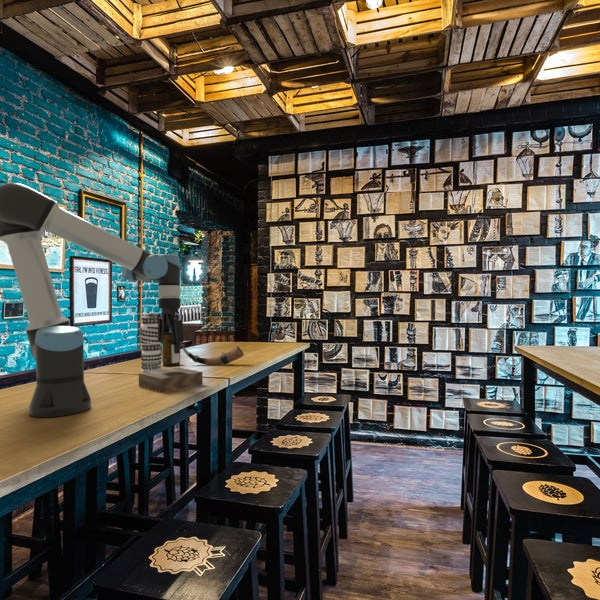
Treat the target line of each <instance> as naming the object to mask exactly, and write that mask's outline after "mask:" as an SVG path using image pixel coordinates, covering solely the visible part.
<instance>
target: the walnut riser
mask: <svg viewBox="0 0 600 600" xmlns="http://www.w3.org/2000/svg"><path fill="white" fill-rule="evenodd" d="M203 378H204V377H203V371H199V370H192V369H187V368H182V367H171V368H165V369H162V370H158V371H152V372H140V373H138V387H140V386H142V387H141V388H144V387H145V389H147V388H149V389H148V390H151V389H153V390H152V391H155V390H157V391H156V392H158V391H160V392H159V393H162V392H163V393H166V392H165V391H168V392H171V391H170V390H173V391H175V390H174V389H178V390H181V389H180V388H183V389H186V388H185V387H188V388H191V387H190V386H193V387H197V386H196V385H198V386H202V384H203V385H204V383H203V382H204V381H203V380H204V379H203Z"/></svg>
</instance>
